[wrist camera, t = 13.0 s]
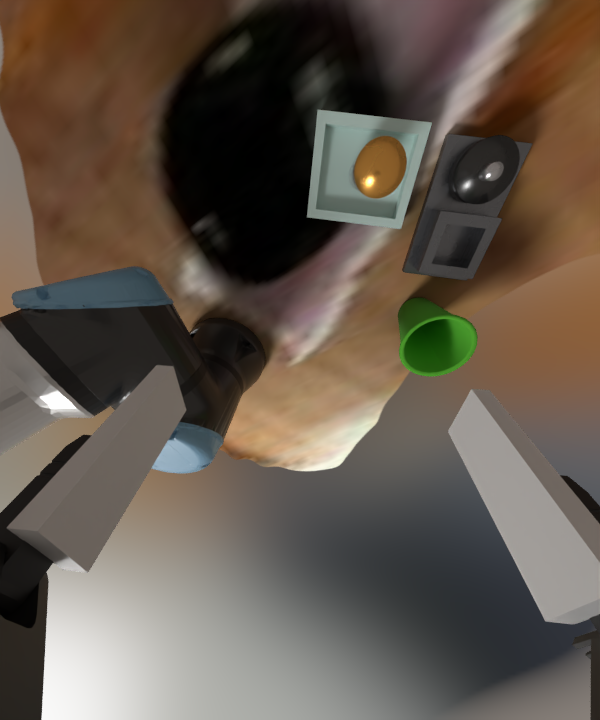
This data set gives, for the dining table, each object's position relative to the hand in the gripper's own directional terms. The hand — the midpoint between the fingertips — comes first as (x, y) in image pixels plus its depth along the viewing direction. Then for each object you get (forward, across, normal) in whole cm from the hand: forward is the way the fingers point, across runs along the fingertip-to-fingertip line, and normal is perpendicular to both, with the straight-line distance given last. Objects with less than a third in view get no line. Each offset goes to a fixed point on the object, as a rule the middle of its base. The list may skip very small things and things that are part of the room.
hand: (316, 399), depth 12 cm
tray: (+31, +4, +10) cm, 32 cm away
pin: (+30, +4, +10) cm, 32 cm away
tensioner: (+30, +17, +6) cm, 35 cm away
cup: (+31, +16, -8) cm, 35 cm away
